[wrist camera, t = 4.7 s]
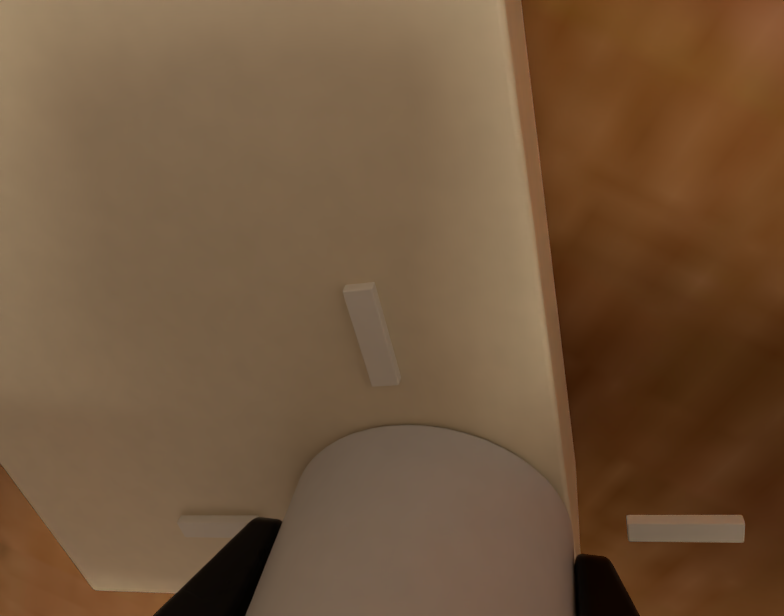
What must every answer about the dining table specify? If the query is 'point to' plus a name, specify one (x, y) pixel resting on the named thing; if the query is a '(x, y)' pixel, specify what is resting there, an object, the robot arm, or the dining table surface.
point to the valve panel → (266, 261)
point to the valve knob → (420, 532)
